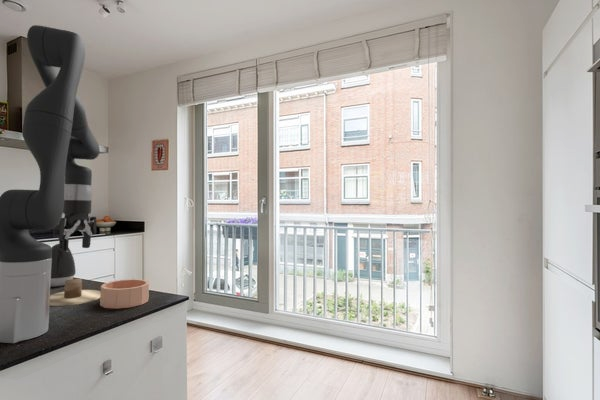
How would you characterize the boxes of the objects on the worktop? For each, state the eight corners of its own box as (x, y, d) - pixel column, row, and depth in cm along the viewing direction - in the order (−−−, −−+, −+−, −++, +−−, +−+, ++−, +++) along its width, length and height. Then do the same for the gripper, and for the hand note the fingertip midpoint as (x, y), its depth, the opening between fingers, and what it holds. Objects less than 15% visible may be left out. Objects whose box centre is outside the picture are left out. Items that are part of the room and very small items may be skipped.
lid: (74, 309, 91) (75, 288, 91) (25, 305, 93) (26, 285, 93) (113, 294, 107) (114, 276, 107) (70, 291, 109) (71, 274, 109)
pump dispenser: (33, 286, 113) (35, 243, 113) (66, 280, 122) (68, 241, 122) (48, 290, 108) (50, 246, 108) (80, 284, 117) (82, 243, 118)
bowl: (131, 309, 91) (131, 290, 91) (89, 306, 92) (90, 288, 92) (156, 297, 104) (157, 280, 104) (120, 294, 105) (120, 278, 105)
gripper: (69, 198, 93) (67, 253, 93) (104, 199, 107) (102, 247, 107) (46, 198, 94) (44, 252, 94) (84, 199, 108) (82, 246, 108)
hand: (75, 249), depth 101 cm, fingers open, 8 cm apart
